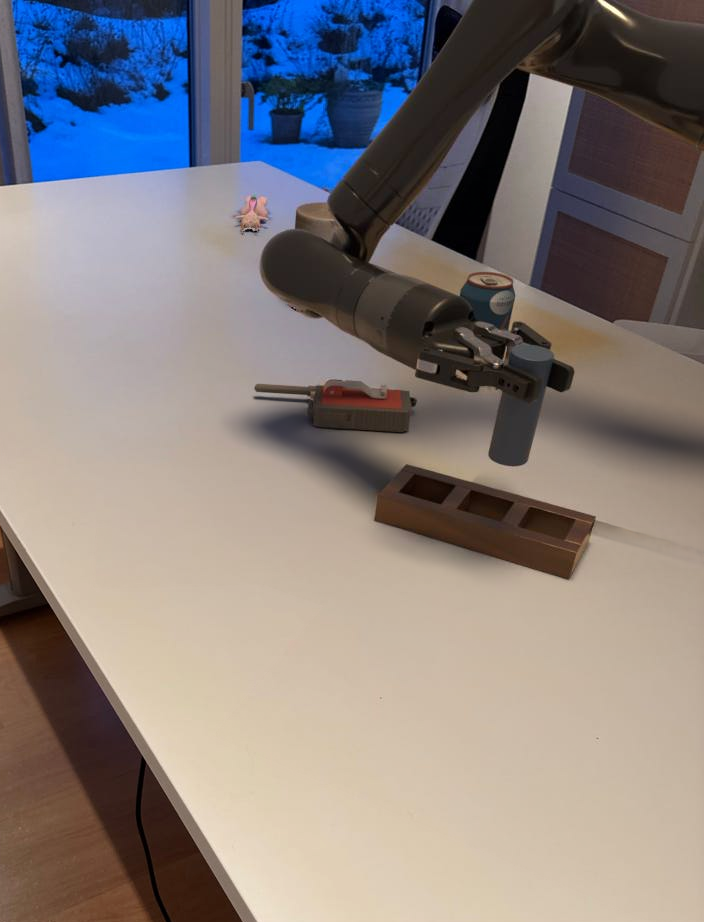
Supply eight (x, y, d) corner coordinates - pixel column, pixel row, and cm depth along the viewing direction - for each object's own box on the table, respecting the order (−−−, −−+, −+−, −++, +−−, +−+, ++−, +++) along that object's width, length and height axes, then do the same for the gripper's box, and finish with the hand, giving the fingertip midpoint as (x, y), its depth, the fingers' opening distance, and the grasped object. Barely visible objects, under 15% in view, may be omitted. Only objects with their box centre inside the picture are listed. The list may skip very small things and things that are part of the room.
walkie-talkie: (413, 403, 120) (254, 394, 121) (418, 370, 117) (256, 360, 118) (418, 435, 113) (249, 424, 114) (424, 400, 110) (251, 389, 111)
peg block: (402, 488, 103) (406, 463, 101) (588, 542, 95) (596, 516, 93) (374, 520, 98) (377, 494, 96) (568, 579, 90) (577, 552, 88)
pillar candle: (280, 297, 149) (286, 194, 140) (337, 292, 152) (347, 190, 142) (303, 319, 142) (311, 212, 133) (362, 313, 145) (374, 207, 135)
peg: (532, 454, 88) (559, 350, 82) (521, 470, 86) (547, 363, 80) (494, 444, 90) (518, 341, 83) (482, 460, 87) (505, 354, 81)
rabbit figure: (265, 242, 176) (273, 207, 186) (266, 210, 172) (275, 176, 182) (232, 240, 176) (241, 205, 186) (232, 208, 172) (242, 174, 182)
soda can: (505, 379, 126) (525, 288, 119) (454, 379, 126) (471, 287, 118) (490, 359, 132) (509, 270, 124) (441, 359, 131) (456, 270, 124)
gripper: (361, 296, 86) (506, 361, 75) (471, 270, 93) (618, 327, 82) (352, 375, 91) (487, 447, 80) (457, 346, 97) (595, 408, 87)
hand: (553, 385), depth 81 cm, fingers closed on peg, 3 cm apart
